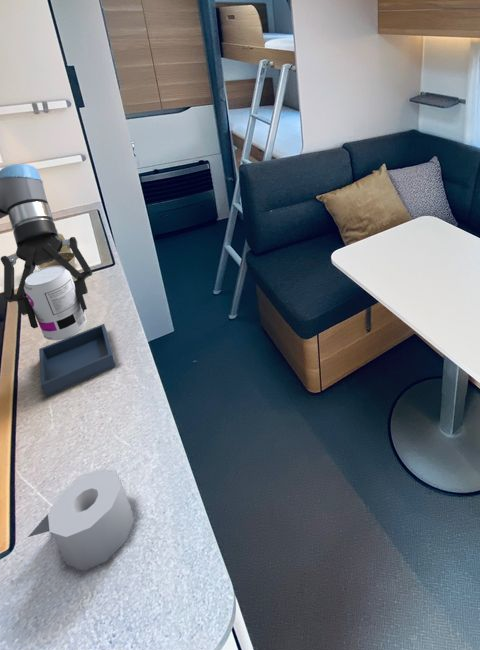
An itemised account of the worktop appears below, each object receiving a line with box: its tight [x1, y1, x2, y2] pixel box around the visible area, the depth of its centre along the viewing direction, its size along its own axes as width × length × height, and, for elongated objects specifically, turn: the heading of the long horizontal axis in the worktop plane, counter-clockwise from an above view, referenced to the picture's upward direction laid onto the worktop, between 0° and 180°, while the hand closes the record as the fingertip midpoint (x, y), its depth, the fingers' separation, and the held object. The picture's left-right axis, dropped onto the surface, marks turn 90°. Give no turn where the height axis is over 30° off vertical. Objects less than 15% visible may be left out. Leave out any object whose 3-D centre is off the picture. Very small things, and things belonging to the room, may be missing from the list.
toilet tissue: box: [27, 467, 135, 572], centre depth 63 cm, size 9×13×9 cm
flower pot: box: [36, 251, 77, 281], centre depth 125 cm, size 9×9×9 cm
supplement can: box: [24, 266, 88, 341], centre depth 91 cm, size 8×8×15 cm
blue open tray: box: [38, 323, 117, 398], centre depth 97 cm, size 13×13×4 cm
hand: (60, 317), depth 89 cm, fingers closed on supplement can, 8 cm apart
